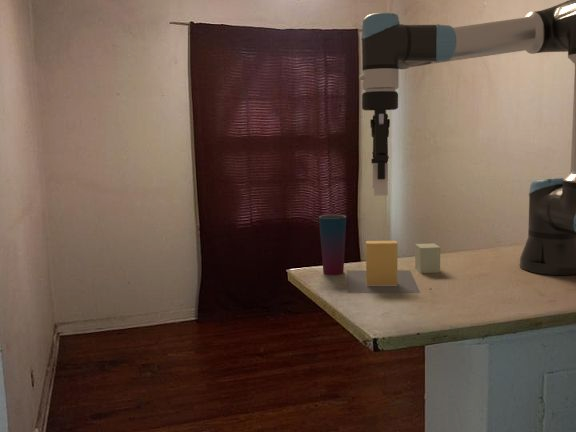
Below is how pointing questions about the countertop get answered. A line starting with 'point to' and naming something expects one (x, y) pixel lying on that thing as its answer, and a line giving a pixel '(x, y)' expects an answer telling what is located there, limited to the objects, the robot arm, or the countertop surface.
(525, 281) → the countertop surface
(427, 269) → the sage block
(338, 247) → the cup
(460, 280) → the countertop surface
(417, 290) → the mat
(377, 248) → the ochre slab
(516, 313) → the countertop surface
